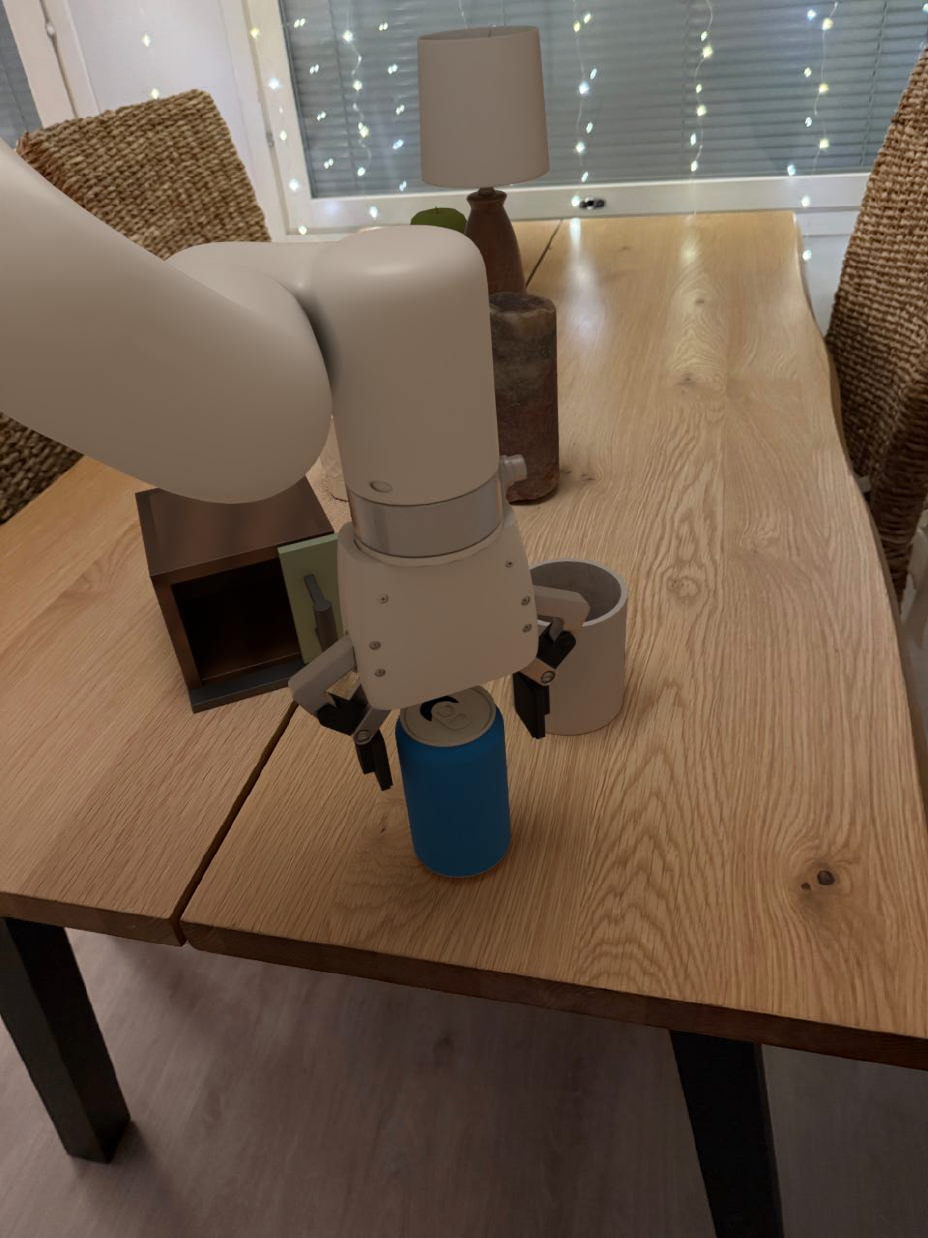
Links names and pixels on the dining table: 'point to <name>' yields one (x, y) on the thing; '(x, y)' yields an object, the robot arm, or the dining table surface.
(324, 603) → the door
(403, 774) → the beverage can
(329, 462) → the white cup
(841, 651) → the dining table surface
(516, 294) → the candle
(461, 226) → the apple
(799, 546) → the dining table surface
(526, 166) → the lamp
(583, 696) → the mug
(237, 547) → the cabinet
